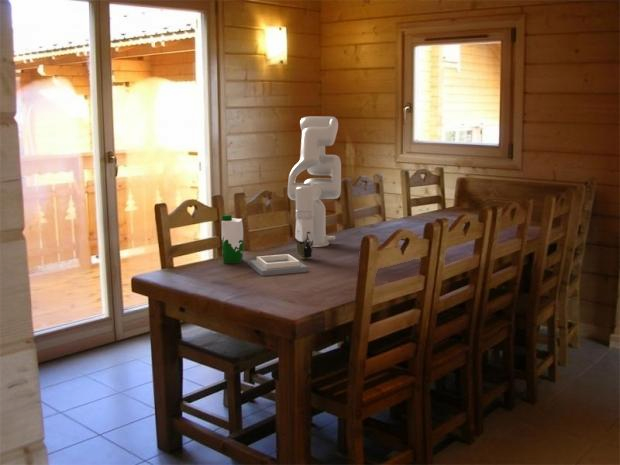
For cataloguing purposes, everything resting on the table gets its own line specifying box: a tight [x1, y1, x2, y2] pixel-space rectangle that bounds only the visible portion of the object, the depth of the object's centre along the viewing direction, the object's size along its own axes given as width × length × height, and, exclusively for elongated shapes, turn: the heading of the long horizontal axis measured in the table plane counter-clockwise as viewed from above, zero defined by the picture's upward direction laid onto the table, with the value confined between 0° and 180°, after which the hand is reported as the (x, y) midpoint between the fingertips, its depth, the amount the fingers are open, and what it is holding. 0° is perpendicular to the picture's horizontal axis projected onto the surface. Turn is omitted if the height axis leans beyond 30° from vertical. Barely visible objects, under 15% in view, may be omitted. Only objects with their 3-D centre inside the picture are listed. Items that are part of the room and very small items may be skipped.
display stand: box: [248, 253, 308, 277], centre depth 295 cm, size 19×19×4 cm
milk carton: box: [221, 213, 244, 264], centre depth 306 cm, size 9×9×20 cm
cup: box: [295, 240, 314, 261], centre depth 311 cm, size 8×7×8 cm
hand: (304, 255), depth 311 cm, fingers closed on cup, 6 cm apart
